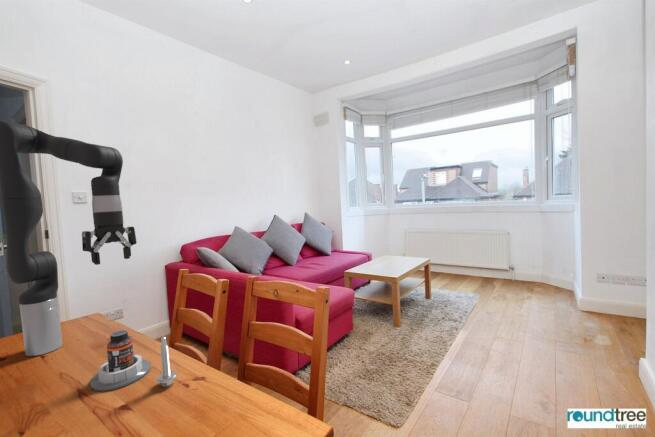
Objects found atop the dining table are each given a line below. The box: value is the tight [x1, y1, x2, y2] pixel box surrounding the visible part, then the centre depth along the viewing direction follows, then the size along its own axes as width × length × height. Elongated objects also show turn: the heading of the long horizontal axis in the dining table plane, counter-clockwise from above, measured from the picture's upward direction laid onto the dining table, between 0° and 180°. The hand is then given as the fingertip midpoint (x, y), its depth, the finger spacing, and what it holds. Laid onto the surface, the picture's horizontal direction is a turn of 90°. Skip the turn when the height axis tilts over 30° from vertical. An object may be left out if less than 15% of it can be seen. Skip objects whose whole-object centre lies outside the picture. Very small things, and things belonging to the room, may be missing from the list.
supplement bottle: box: [106, 329, 134, 372], centre depth 85 cm, size 6×6×11 cm
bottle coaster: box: [89, 353, 152, 392], centre depth 85 cm, size 14×14×3 cm
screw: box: [155, 336, 178, 388], centre depth 79 cm, size 13×5×5 cm
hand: (112, 261), depth 96 cm, fingers open, 8 cm apart
